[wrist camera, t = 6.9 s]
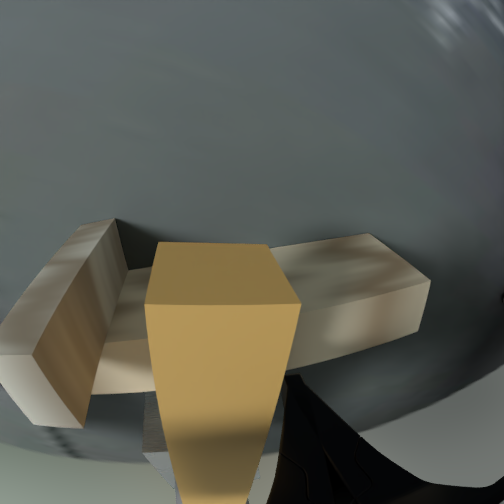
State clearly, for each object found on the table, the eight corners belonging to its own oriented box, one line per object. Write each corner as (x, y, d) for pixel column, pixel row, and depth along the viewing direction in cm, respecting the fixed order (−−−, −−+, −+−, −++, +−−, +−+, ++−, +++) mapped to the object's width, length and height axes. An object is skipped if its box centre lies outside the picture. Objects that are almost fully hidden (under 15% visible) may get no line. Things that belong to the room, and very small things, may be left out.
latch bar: (239, 482, 15) (247, 520, 12) (177, 485, 14) (180, 524, 12) (283, 244, 9) (324, 302, 6) (140, 241, 8) (118, 303, 5)
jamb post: (170, 417, 21) (173, 488, 15) (147, 368, 19) (142, 452, 13) (243, 407, 22) (260, 478, 16) (234, 357, 19) (253, 441, 13)
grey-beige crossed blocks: (83, 321, 16) (39, 461, 7) (50, 231, 14) (-54, 353, 5) (364, 276, 19) (463, 382, 10) (370, 184, 16) (512, 259, 7)
